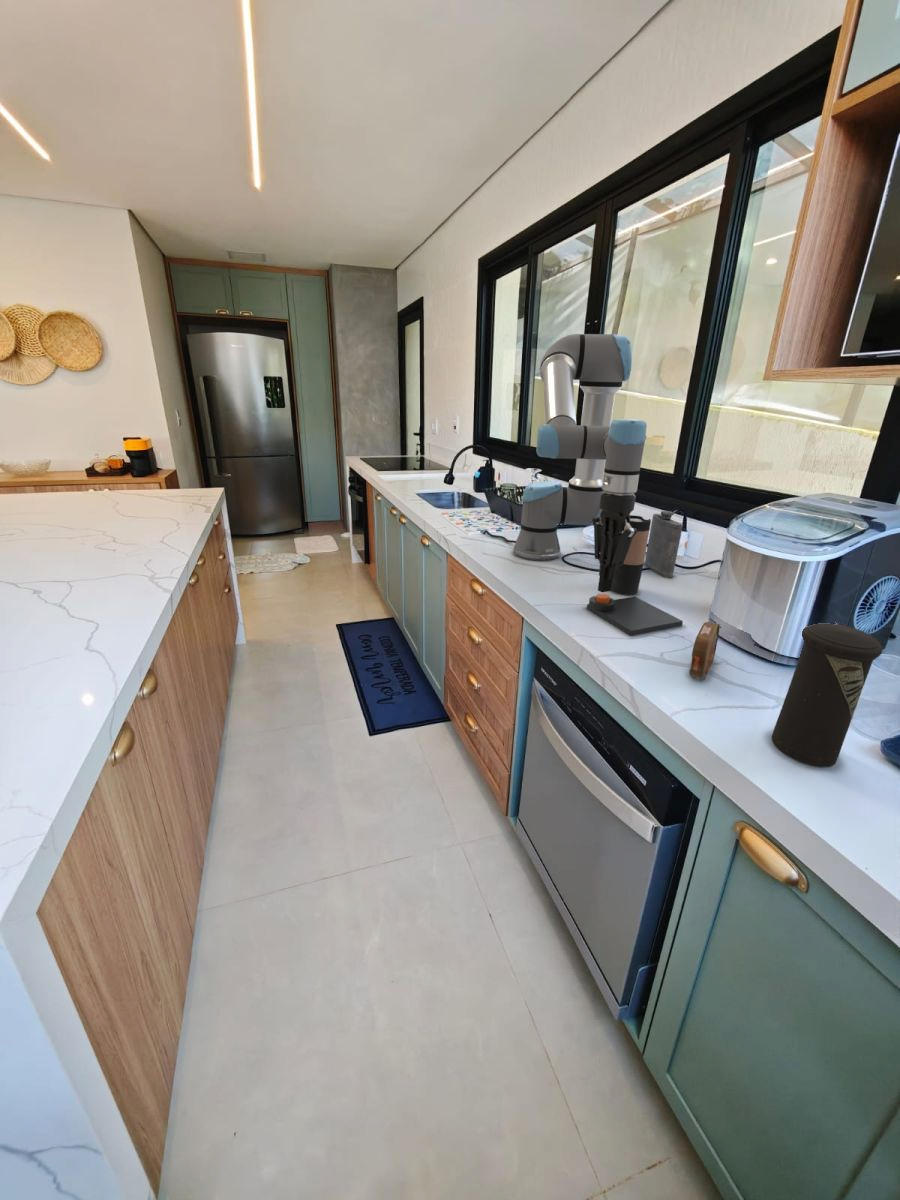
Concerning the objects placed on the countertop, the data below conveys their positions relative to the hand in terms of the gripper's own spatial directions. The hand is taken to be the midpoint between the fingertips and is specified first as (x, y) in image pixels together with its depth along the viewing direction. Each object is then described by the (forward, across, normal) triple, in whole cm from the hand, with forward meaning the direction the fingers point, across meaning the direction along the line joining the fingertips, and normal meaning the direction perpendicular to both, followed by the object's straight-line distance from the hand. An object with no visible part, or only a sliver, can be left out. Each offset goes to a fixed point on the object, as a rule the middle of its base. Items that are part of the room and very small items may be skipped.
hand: (604, 590), depth 121 cm
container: (+6, +53, -4) cm, 54 cm away
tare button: (+3, 0, 0) cm, 3 cm away
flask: (+6, -21, +37) cm, 43 cm away
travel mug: (+6, -10, +15) cm, 19 cm away
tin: (+6, +29, +1) cm, 30 cm away
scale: (+6, +5, +5) cm, 9 cm away
